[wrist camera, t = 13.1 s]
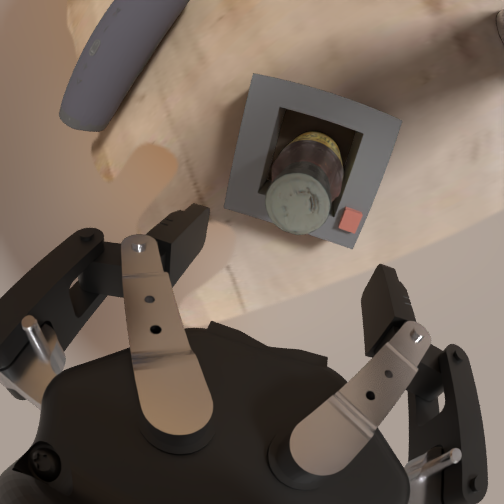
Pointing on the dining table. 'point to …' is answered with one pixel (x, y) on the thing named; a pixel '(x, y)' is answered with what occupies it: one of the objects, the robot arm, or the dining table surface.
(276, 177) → the sauce bottle
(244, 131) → the bottle socket block
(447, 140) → the dining table surface
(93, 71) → the bluetooth speaker
